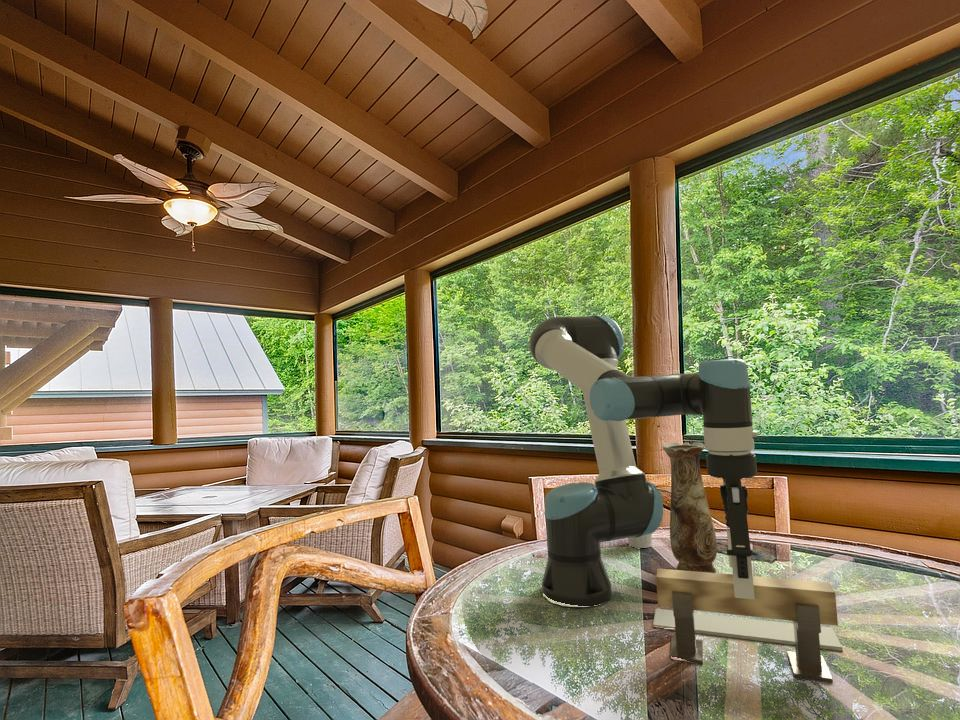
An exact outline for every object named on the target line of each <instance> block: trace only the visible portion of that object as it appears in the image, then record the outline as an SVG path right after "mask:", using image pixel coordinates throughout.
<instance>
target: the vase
mask: <svg viewBox="0 0 960 720" xmlns="http://www.w3.org/2000/svg"><path fill="white" fill-rule="evenodd" d="M661 447H662V448H661V449H663V451H664V452H665V453H666V455H667V457H668V458H669V461H670V471H671V472H670V475H671V476H670V477H671V478H670V479H671V480H670V482H671V483H670V487H671V488H670V491H671V492H670V508H669V509H670V510H669V511H670V513H669V514H670V515H669V516H670V517H669V518H670V519H669V538H670V539H669V540H670V549H671V552H672V555H673V556H674V558H675V560H676V561H678V564H677V566H676V569H675V570H683V571H696V572H708V573H717V570H716V568H715V566H714V564H713V563H714V562H715V560H716V558H717V555H718V551H717V549H718V545H717V543H718V542H717V536H716V531H715V526H714V523H713V518H712V515H711V510H710V507H709V503H708V499H707V493H706V490H705V487H704V480H703V477H702V472H701V471H702V470H701V467H700V457H701V455H702V453H703V451H704V449H705V443H703V442H697V441H696V442H693V443H692V444H690V443H688V442H683V443H681V444H680V443H678V442H669V443H665V445H663V446H661Z"/></svg>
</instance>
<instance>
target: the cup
mask: <svg viewBox="0 0 960 720" xmlns="http://www.w3.org/2000/svg"><path fill="white" fill-rule="evenodd" d="M628 543H629V545H631V546H632V547H635V548H647V547H650V546H652V547H653V533H651V534H648V535H643V536H641V537H636V538H635V537H633V538H627V544H628ZM629 545H628V546H629ZM632 547H631V548H632ZM635 548H634V549H635Z"/></svg>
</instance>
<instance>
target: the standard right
mask: <svg viewBox="0 0 960 720" xmlns="http://www.w3.org/2000/svg"><path fill="white" fill-rule="evenodd" d="M795 607H796V620H797V621H792V622H793V624H794V637H795V645H794V649H795V651H790V650H789V651H788V650H787V651H786V654H787V658H788V661H789V664H790V667H791V670H792V674H793V677H794V678H795V679H803V680H811V681H818V682H825V683H831V684H833V683H834V682H833V677H832V675H831V672H830V670H829V667H828V665H827V663H826V661H825V658H824V656H823V654H822V653H821V648H820V640H819V633H821V627H822V626H821V625H822V624H820V613H819V607H818V605H813V604H803V603H795ZM821 654H822V655H821Z"/></svg>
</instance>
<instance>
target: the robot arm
mask: <svg viewBox="0 0 960 720" xmlns="http://www.w3.org/2000/svg"><path fill="white" fill-rule="evenodd" d="M528 342H529V344H528V346H529V347H528V348H529V352H530V354H531V356H532V358H533V359H534V360H535V362H536V363H538V364H539V365H541V366H542V367H543V368H545V369H549V370H554V371H556V373H558V374H559V375H561V376H562V377H563V378H565V380H567V381H568V382H570V383H571V384H572V385H574V386H575V387H576V388H578V390H580V391H582V395H583V399H584V400H583V401H584V405H585V409H586V415H587V420H588V425H589V430H590V433H591V438H592V444H593V449H594V453H595V458H596V462H597V468H598V472H599V473H598V474H597V477H596V478H595V480H594V483H590V482H585V481H584V482H582V481H581V482H572V483H566V484H561V485H559V486H556V487H554V488H552V489H551V490H550V491H548V492H547V494H546V495H545V497H544V513H543V515H544V518H545V519H544V520H545V529H546V534H545V535H546V544H547V545H546V547H547V561H546V565H545V569H544V572H543V577H542V581H541V592H542V591H543V593H544V594H545V595H546V596H547V597H548V598H550V599H552V600H554V601H557V602H561V603H565V604H570V605H578V606H594V605H598V606H600V605H599V604H601V605H603V604H605V603H607V602H608V601H609V600H610V599H611V598H612V593H613V592H612V583H611V580H610V578H609V575H608V572H607V569H606V566H605V564H604V562H603V560H602V551H601V543H605V542H607V543H608V542H612V541H619V540H625V539H626V540H627V539H628V538H633V537H635V538H636V537H641V536H643V535H648V534H651V533H652V534H653V533H655V532H656V531H657V530H658V529H659V528H660V525H661V523H662V521H663V517H664V516H663V515H664V504H663V498H662V494H661V493H660V489H658V487H657V486H656V484H654V483H653V482H651V481H649V480H648V481H647V478H646V474H645V472H643V471H642V470H641V469H639V468H638V467H637V464H636V461H635V456H634V452H633V446H632V442H631V439H630V435H629V429H628V425H627V420H637V419H638V420H639V419H648V418H659V417H661V418H662V417H671V416H672V417H673V416H682V415H700V416H702V421H703V422H702V424H703V426H702V427H703V428H702V429H703V431H702V432H703V441H704V443H703V444H704V445H705V447H704V449H705V450H706V451H708V452H707V454H706V455H705V458H706V459H705V460H706V473H707V474H708V476H710V477H713V478H717V479H718V478H719V479H722V480H723V481H722V482H723V485H721V484H720V485H719V492H720V498H721V500H722V505H723V513H724V514H725V516H724V520H725V521H726V522H725V525H726V539H727V545H728V549H726V551H727V554H726V555H727V556H728V560H729V561H728V562H729V568H731V569H732V574H733V583H734V594H735V598H743V599H754V600H755V597H754V586H753V576H754V574H753V565H752V561H751V555H752V550H753V549H752V548H751V543H750V542H751V541H750V531H749V524H748V522H749V521H748V515H749V508H748V500H749V499H748V498H749V496H748V495H749V493H748V488H747V486H746V485H742V480H743V479H751V478H754V477H756V476H757V474H758V467H757V456H756V454H755V453H754V452H752V451H753V450H754V449H755V447H756V446H755V439H754V438H756V437H758V436H759V434H758V431H757V430H753V429H754V426H753V425H754V423H753V414H752V413H753V411H752V400H751V381H750V378H749V377H750V376H749V370H748V365H747V363H746V361H744V359H741V358H730V359H727V358H726V359H714V360H706V361H705V360H704V361H701V362H700V363H699V365H698V373H671V374H662V375H660V374H659V375H645V376H642V375H641V376H630V375H629V374H626V373H625V372H623V371H622V370H620V369H618V368H617V367H618V365H619V363H620V362H619V359H620V358H621V357H622V355H623V353H624V349H625V348H624V345H625V343H624V342H625V340H624V334H623V332H622V329H621V328H620V325H619V324H618V323H617V322H616V321H615V320H614V319H613V318H611V317H608V316H605V315H603V316H600V315H593V314H592V315H587V316H582V315H581V316H553V317H550V318H547V319H544V320H543V321H541V322H540V323H538V325H537V326H536V327H534V329H533V330H532V332H531V335H530V337H529V341H528ZM751 549H752V550H751ZM594 607H595V606H594Z"/></svg>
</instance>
